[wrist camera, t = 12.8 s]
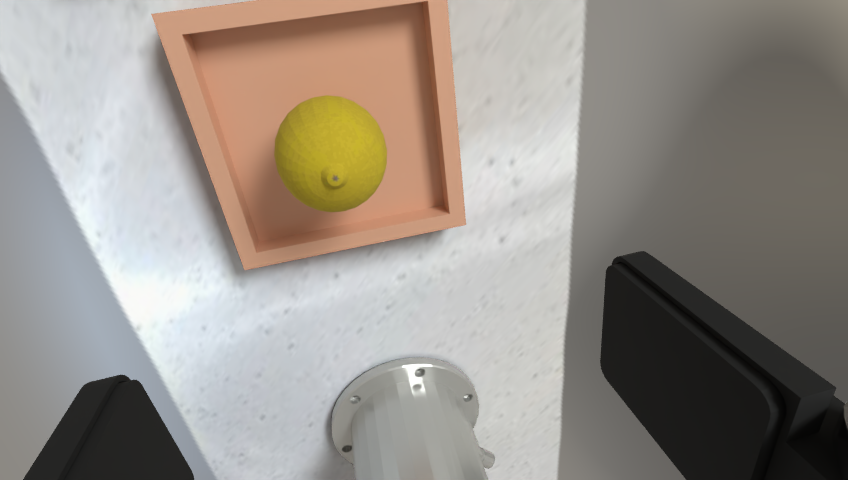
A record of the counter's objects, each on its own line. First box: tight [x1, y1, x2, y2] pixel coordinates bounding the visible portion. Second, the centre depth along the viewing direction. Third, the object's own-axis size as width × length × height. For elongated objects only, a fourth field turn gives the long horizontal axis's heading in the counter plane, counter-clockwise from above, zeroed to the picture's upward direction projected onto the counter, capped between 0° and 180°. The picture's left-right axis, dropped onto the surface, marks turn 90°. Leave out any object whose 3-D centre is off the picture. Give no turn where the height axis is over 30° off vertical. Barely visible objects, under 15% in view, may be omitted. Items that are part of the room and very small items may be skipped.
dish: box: [151, 0, 466, 270], centre depth 26 cm, size 14×14×2 cm
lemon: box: [274, 95, 387, 212], centre depth 23 cm, size 6×6×8 cm
